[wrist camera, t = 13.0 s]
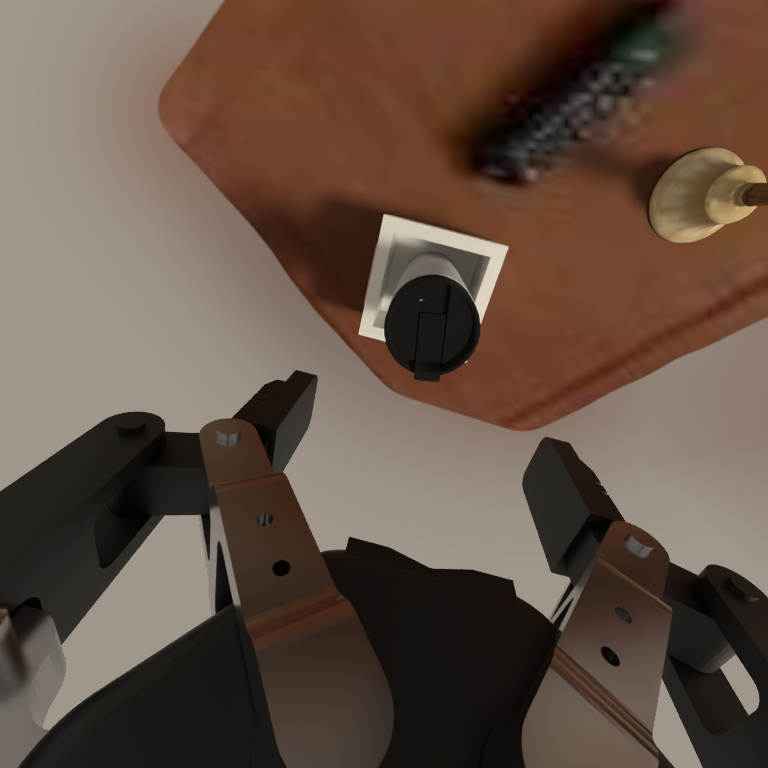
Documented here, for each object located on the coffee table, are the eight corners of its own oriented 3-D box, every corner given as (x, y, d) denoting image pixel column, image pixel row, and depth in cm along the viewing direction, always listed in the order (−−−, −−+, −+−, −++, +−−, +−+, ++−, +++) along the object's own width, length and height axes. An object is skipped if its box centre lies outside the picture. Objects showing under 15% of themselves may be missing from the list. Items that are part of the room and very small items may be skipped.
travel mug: (399, 309, 42) (379, 379, 24) (403, 249, 39) (384, 278, 21) (453, 313, 42) (473, 387, 24) (461, 253, 39) (491, 285, 21)
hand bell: (725, 242, 37) (917, 257, 22) (638, 243, 38) (767, 259, 23) (759, 145, 33) (1012, 89, 19) (661, 149, 34) (831, 99, 20)
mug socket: (389, 214, 39) (380, 213, 32) (494, 241, 39) (508, 246, 32) (367, 314, 44) (355, 333, 37) (460, 338, 44) (466, 362, 37)
